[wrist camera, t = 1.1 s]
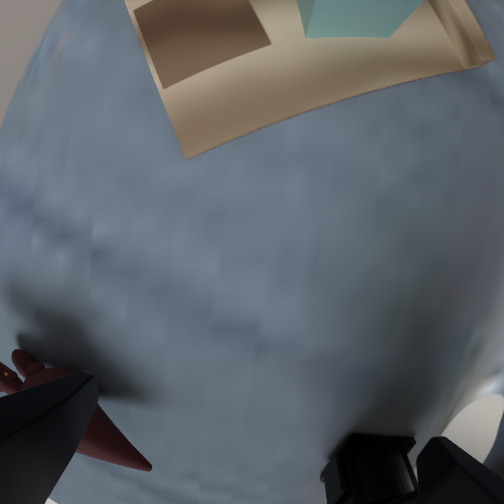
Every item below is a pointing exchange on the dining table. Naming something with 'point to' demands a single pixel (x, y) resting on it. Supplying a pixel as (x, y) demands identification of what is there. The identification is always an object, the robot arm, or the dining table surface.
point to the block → (354, 17)
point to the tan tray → (284, 61)
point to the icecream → (100, 426)
